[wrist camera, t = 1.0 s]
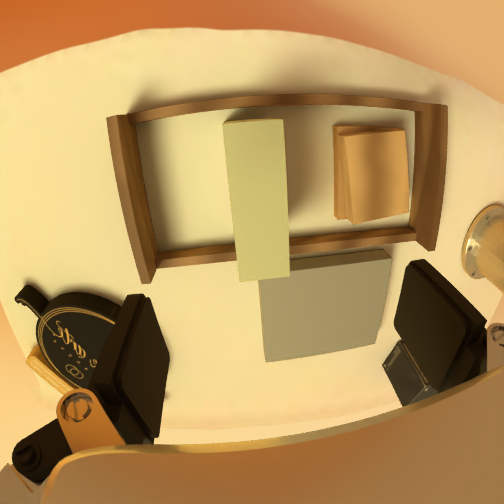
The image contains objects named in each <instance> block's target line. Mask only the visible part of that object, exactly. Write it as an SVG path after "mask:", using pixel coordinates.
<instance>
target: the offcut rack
mask: <svg viewBox="0 0 504 504" xmlns="http://www.w3.org/2000/svg"><path fill="white" fill-rule="evenodd" d="M273 105H352V106H369V107H382V108H393V109H402V110H410V111H415V155H414V175H413V189H412V200H411V210H410V219H409V227H401V228H390V229H380V230H369V231H358V232H348V233H338V234H327V235H317V236H307V237H297V238H289V255H292V254H301V253H310V252H319V251H328V250H337V249H346V248H355V247H364V246H373V245H381V244H390V243H399V242H408V241H417V242H418V243H419V244H420V245H421V246H423V247H424V248H425V249H426V250H427V251H435V247H436V242H437V236H438V230H439V224H440V217H441V210H442V203H443V195H444V185H445V174H446V160H447V138H448V106H446V105H441V104H427V103H419V102H413V101H405V100H398V99H389V98H380V97H368V96H355V95H335V94H278V95H258V96H244V97H232V98H222V99H213V100H205V101H198V102H191V103H184V104H178V105H172V106H166V107H161V108H156V109H151V110H146V111H141V112H136V113H132V114H128V115H115V116H111V117H107V118H106V119H107V127H108V134H109V141H110V148H111V154H112V160H113V166H114V171H115V177H116V182H117V187H118V192H119V197H120V202H121V206H122V211H123V215H124V219H125V224H126V228H127V232H128V236H129V240H130V244H131V248H132V251H133V255H134V259H135V262H136V266H137V269H138V273H139V276H140V280H141V283H142V284H149V283H151V282H152V279H153V277H154V274H155V272H156V269H158V268H168V267H178V266H188V265H197V264H207V263H217V262H226V261H236V260H237V256H236V247H235V244H230V245H220V246H211V247H202V248H193V249H183V250H174V251H165V252H158V249H157V244H156V240H155V235H154V231H153V226H152V221H151V217H150V212H149V207H148V202H147V196H146V191H145V186H144V180H143V174H142V168H141V162H140V156H139V149H138V142H137V135H136V128H135V123H140V122H145V121H150V120H155V119H160V118H166V117H172V116H178V115H184V114H191V113H198V112H205V111H213V110H222V109H232V108H243V107H256V106H273Z"/></svg>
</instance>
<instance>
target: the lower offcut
mask: <svg viewBox="0 0 504 504" xmlns="http://www.w3.org/2000/svg"><path fill="white" fill-rule="evenodd" d="M390 129H398V130H404V129H401V128H392V127H372V126H333V146H334V216H335V217H336V218H337V219H338V220H340V219H347V218H346V208H345V197H344V187H343V178H342V170H341V161H340V154H339V146H338V139H337V135H341V134H350V133H358V132H368V131H378V130H390Z"/></svg>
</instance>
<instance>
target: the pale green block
mask: <svg viewBox="0 0 504 504" xmlns="http://www.w3.org/2000/svg"><path fill="white" fill-rule="evenodd" d="M222 125H223V135H224V145H225V155H226V165H227V174H228V184H229V193H230V202H231V212H232V221H233V230H234V238H235V247H236V256H237V264H238V273H239V281H240V282H244V281H254V280H263V279H272V278H280V277H289V276H290V263H289V226H288V200H287V178H286V158H285V141H284V126H283V119H272V118H258V119H245V120H234V121H224V123H223V124H222Z"/></svg>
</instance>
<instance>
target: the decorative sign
mask: <svg viewBox="0 0 504 504" xmlns="http://www.w3.org/2000/svg"><path fill="white" fill-rule="evenodd" d="M15 301H16V302H17V303H20V302H21V303H22V305H24V306H27V307H28V308H30V309H31V310H32V312H33V313H34V314H35V315H36V316H37V317H38V318H39V319H38V321H37V324H36V338H37V342H38V345H37V346H36V347H34V348H33V349H32V351H31V353H30V355H29V356H28V358H27V360H26V364H27V365H28V366H29V367H30V368H32V369H33V370H34V371H35V372H36V373H37V374H38V375H40V376H41V377H42V378H43V379H44V380H45V381H47V382H48V383H49V384H50V385H52V386H53V387H54V388H55V389H57V390H58V391H59V392H60V393H62V394H63V395H65V394H66V393H68V392H69V391H71V390H74V389H80V388H83V389H87V388H88V385H89V382H90V379H91V377H92V374H93V371H94V369H95V366H96V363H97V361H98V358H99V356H100V353H101V350H102V348H103V345H104V343H105V341H106V338H107V336H108V334H109V333H111V331H112V329H113V326H114V324H115V321H116V319H117V317H118V314H119V312H120V310H121V308H122V307H121V306H120V305H118V304H116V303H114V302H112V301H110V300H108V299H106V298H103V297H100V296H97V295H94V294H90V293H82V292H71V293H65V294H62V295H59V296H57V297H56V298H54V299H53V300H52V301H51V302H48V301H47V299H46V298H45V297H44V296H43V295H42V294H41V293H40V292H39V291H38V290H36V289H35V288H34V287H32V286H30V285H26V286H24V288H23V289H22V290H21V291H20V292H19V293H18V294H17V296H16V297H15Z"/></svg>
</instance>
